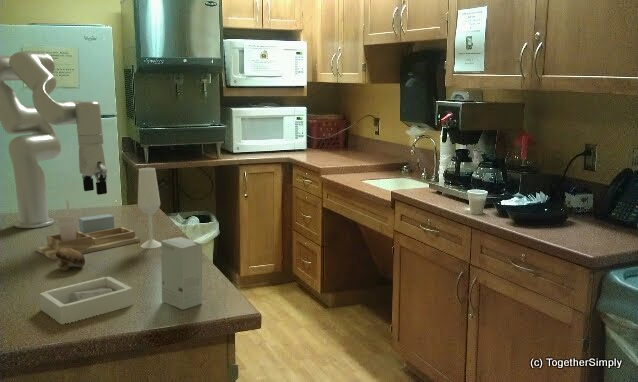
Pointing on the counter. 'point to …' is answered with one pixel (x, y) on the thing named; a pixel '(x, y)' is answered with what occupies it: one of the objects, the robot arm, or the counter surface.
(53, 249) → the tray
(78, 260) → the mushroom
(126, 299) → the soap dish rim
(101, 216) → the pale grey block
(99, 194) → the robot arm
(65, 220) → the smoothie
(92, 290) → the soap bar
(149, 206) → the champagne flute
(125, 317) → the counter surface
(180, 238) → the skincare box
